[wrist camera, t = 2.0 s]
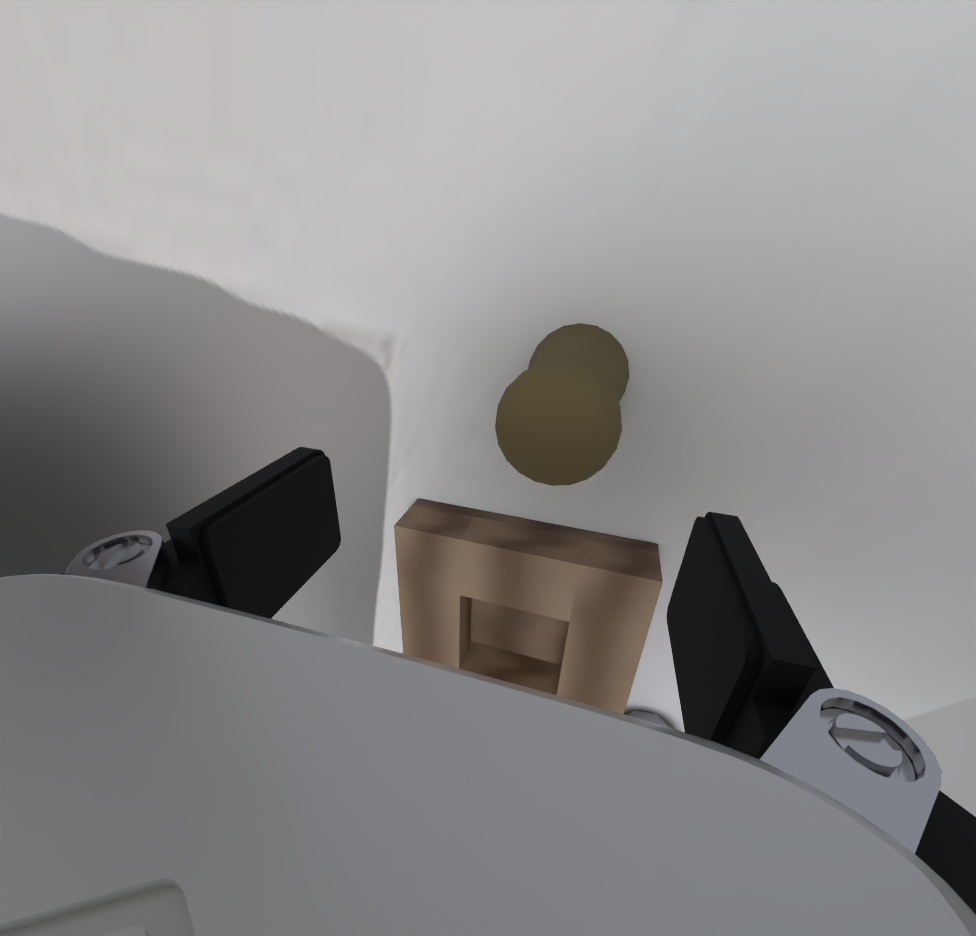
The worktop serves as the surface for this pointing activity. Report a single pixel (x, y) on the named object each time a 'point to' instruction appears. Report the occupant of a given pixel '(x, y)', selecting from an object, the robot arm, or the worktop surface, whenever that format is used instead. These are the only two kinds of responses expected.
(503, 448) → the olive pepper mill
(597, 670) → the walnut holder
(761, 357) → the worktop surface
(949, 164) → the worktop surface
